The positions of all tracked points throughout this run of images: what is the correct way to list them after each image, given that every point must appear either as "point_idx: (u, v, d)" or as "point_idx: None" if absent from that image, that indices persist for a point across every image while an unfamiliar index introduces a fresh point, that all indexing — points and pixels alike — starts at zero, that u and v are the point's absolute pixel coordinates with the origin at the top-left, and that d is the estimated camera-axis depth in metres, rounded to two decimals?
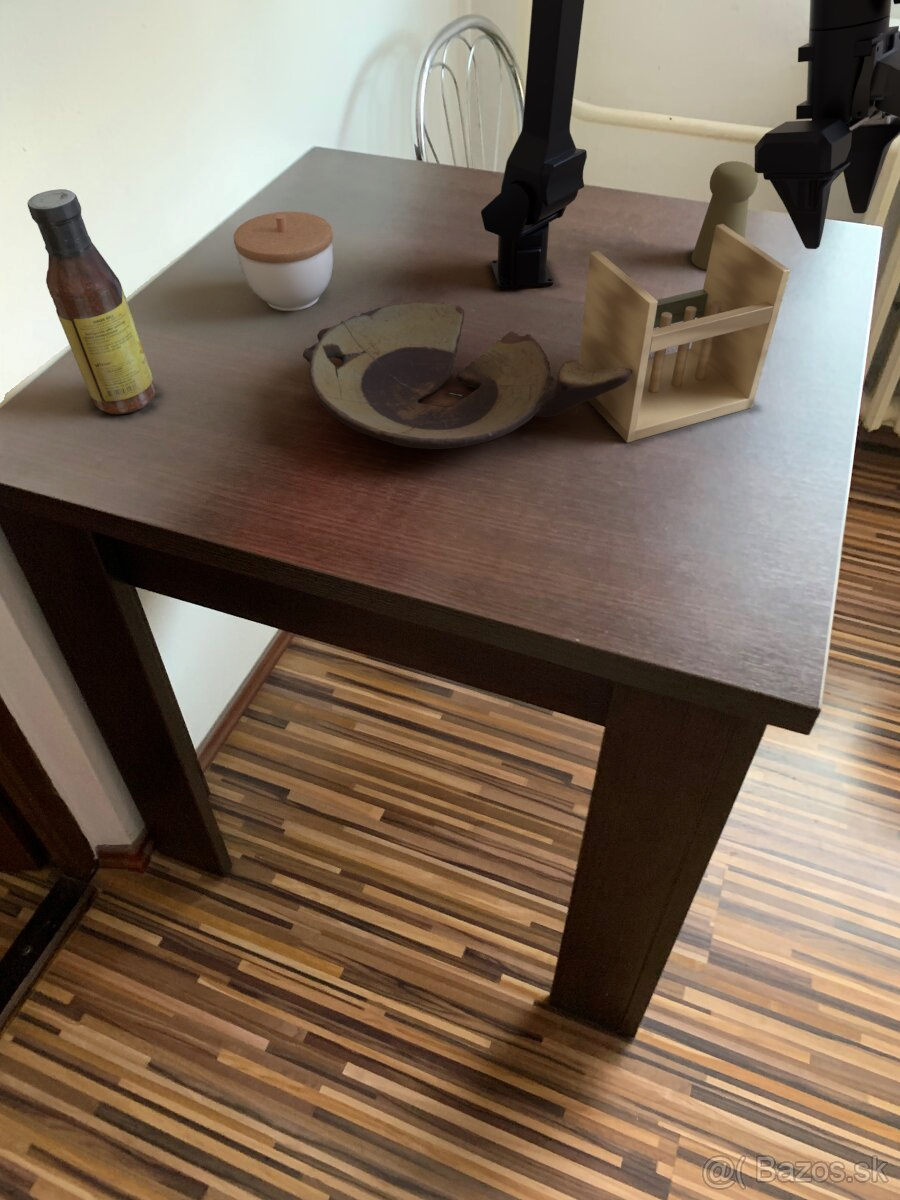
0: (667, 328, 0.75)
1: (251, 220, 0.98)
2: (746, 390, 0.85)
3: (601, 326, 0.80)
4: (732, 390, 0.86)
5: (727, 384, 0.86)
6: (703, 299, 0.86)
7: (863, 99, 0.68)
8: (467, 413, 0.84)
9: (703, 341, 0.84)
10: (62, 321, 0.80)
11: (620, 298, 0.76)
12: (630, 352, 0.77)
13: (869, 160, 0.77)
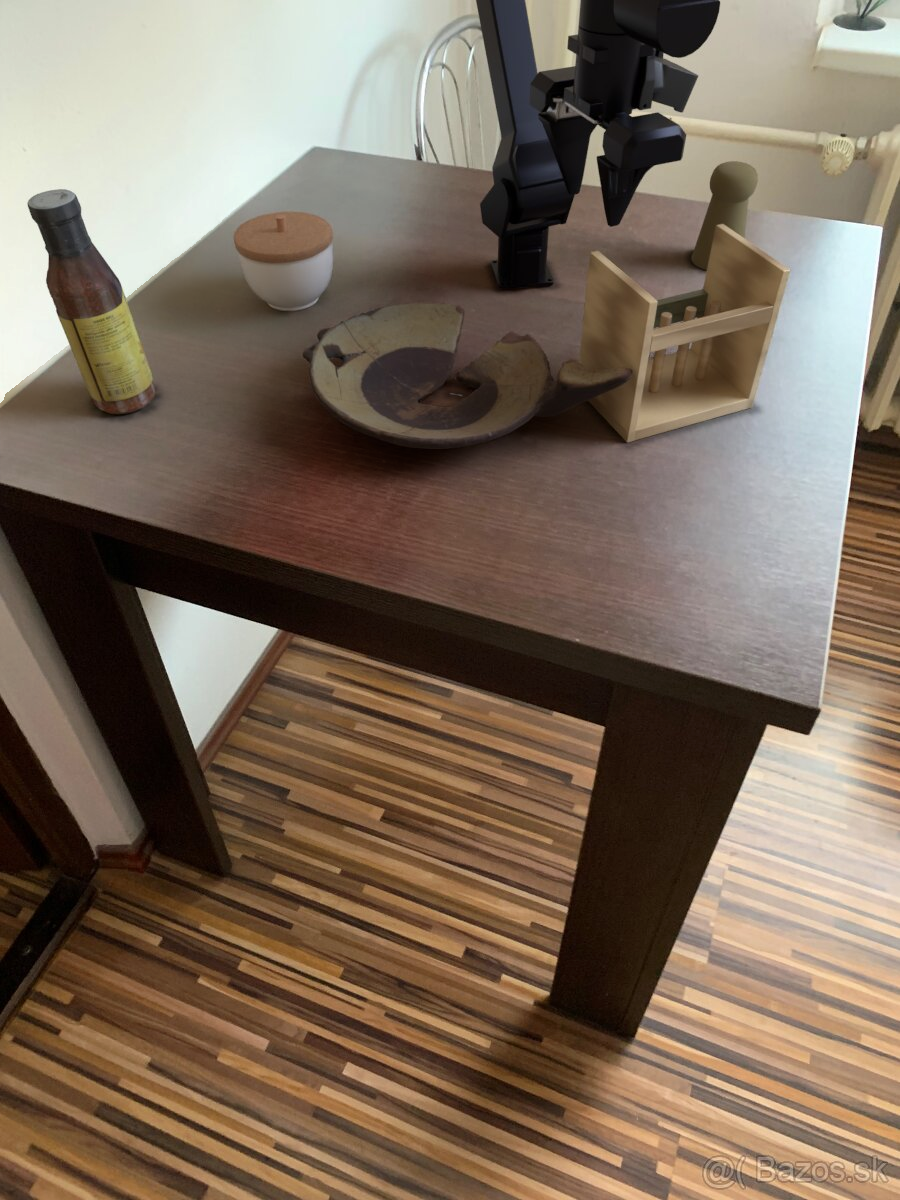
0: (667, 328, 0.75)
1: (251, 220, 0.98)
2: (746, 390, 0.85)
3: (601, 326, 0.80)
4: (732, 390, 0.86)
5: (727, 384, 0.86)
6: (703, 299, 0.86)
7: (649, 93, 0.78)
8: (467, 413, 0.84)
9: (703, 341, 0.84)
10: (62, 321, 0.80)
11: (620, 298, 0.76)
12: (630, 352, 0.77)
13: (580, 147, 0.86)
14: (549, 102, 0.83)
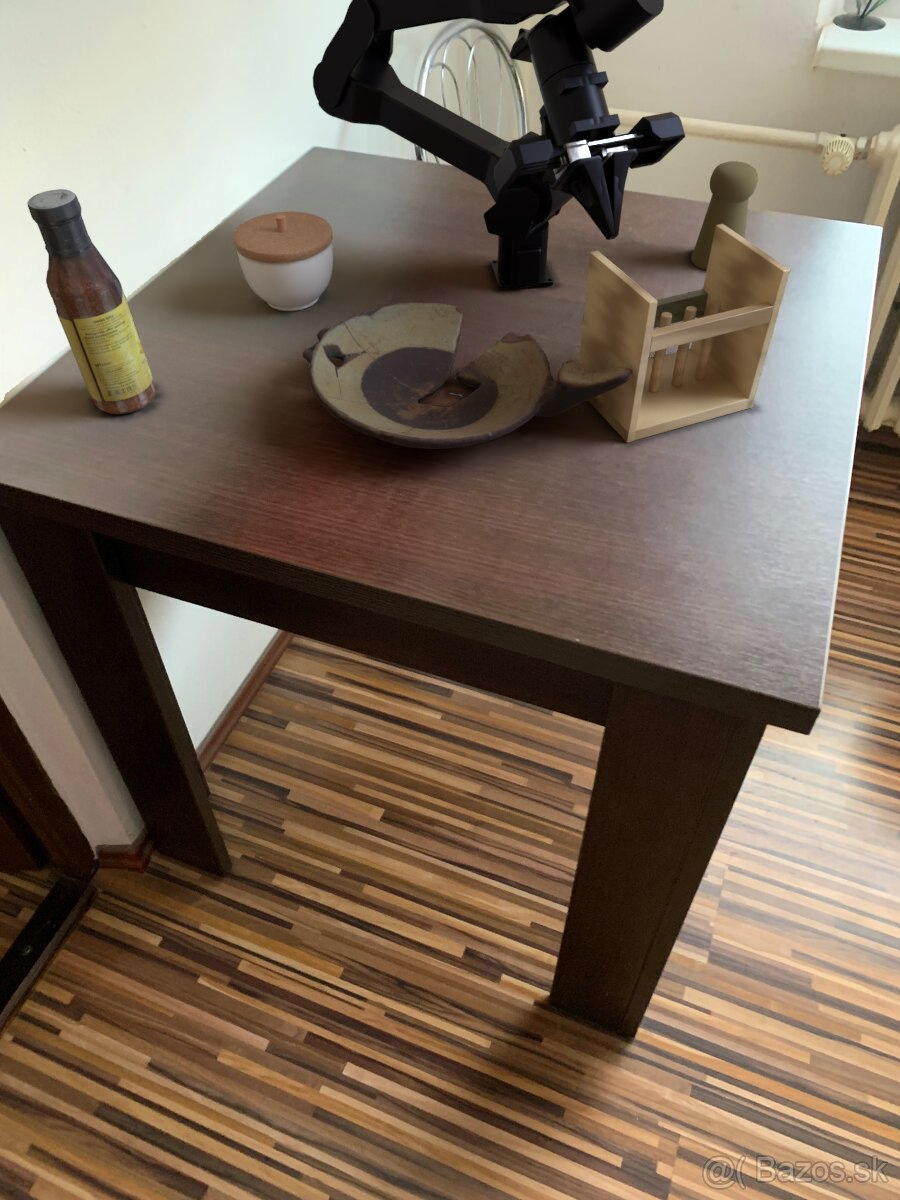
0: (667, 328, 0.75)
1: (251, 220, 0.98)
2: (746, 390, 0.85)
3: (601, 326, 0.80)
4: (732, 390, 0.86)
5: (727, 384, 0.86)
6: (703, 299, 0.86)
7: None
8: (467, 413, 0.84)
9: (703, 341, 0.84)
10: (62, 321, 0.80)
11: (620, 298, 0.76)
12: (630, 352, 0.77)
13: None
14: None
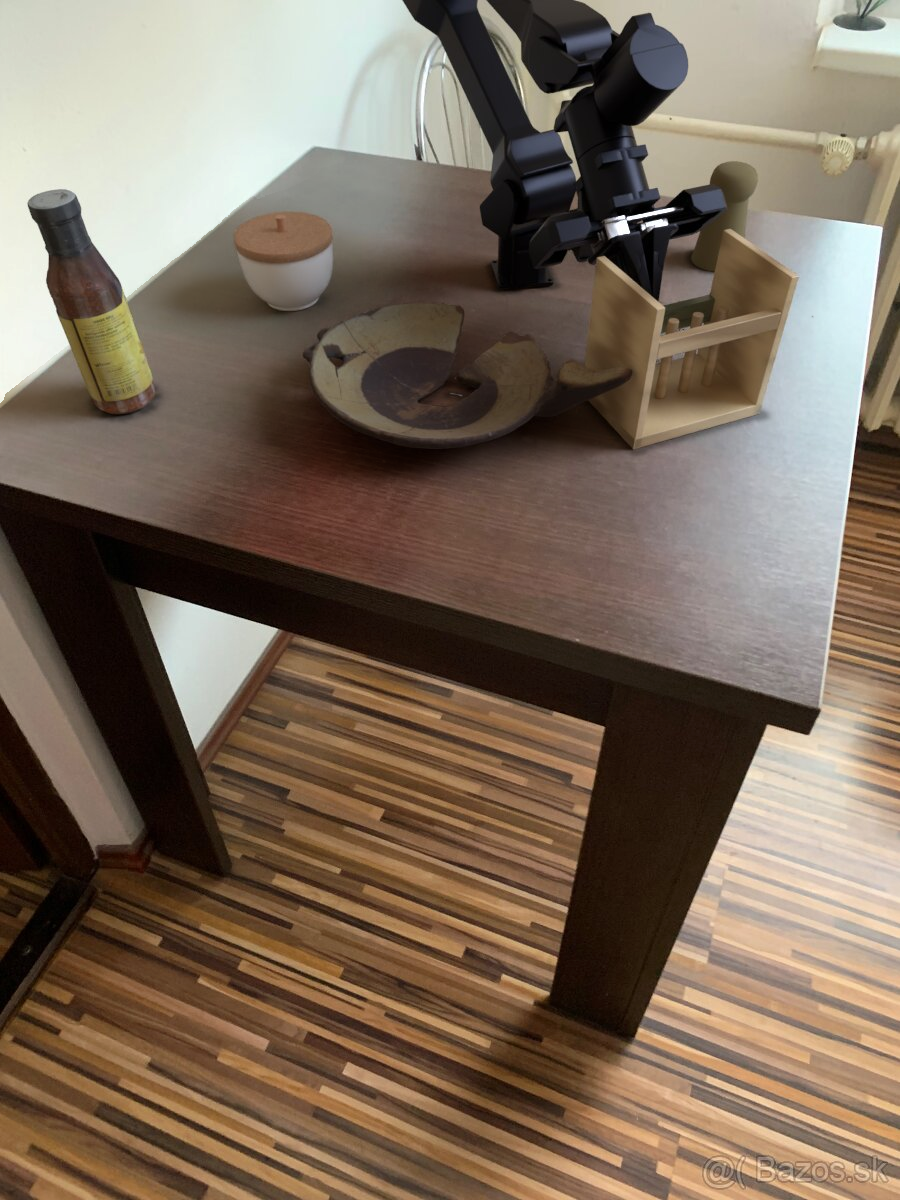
0: (675, 335, 0.75)
1: (251, 220, 0.98)
2: (753, 396, 0.84)
3: (607, 332, 0.80)
4: (739, 396, 0.85)
5: (734, 390, 0.86)
6: (710, 304, 0.85)
7: None
8: (467, 413, 0.84)
9: (710, 347, 0.83)
10: (62, 321, 0.80)
11: (627, 304, 0.75)
12: (637, 358, 0.76)
13: None
14: None
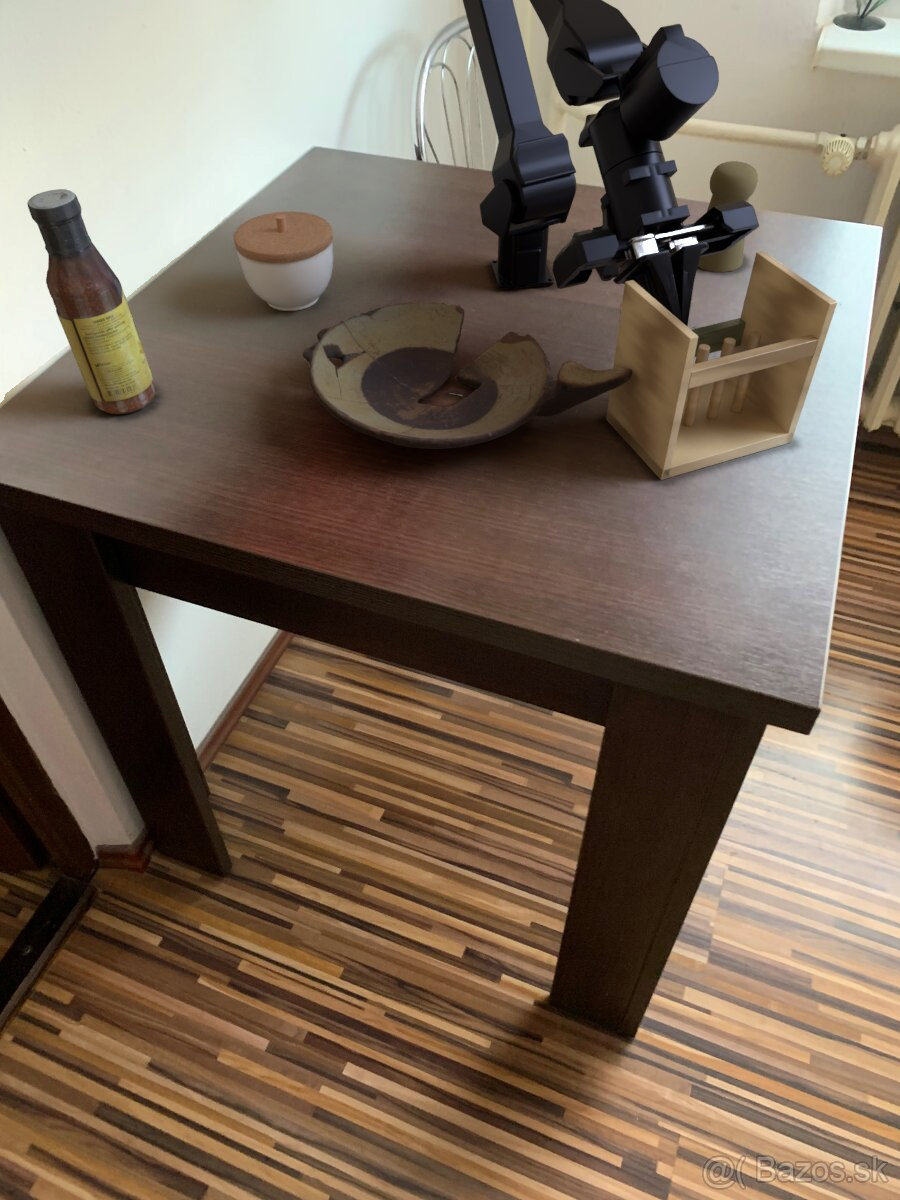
0: (707, 363, 0.71)
1: (251, 220, 0.98)
2: (785, 424, 0.81)
3: (635, 359, 0.77)
4: (770, 424, 0.82)
5: (765, 417, 0.82)
6: (740, 328, 0.82)
7: None
8: (467, 413, 0.84)
9: None
10: (62, 321, 0.80)
11: (657, 331, 0.72)
12: (667, 387, 0.73)
13: None
14: None
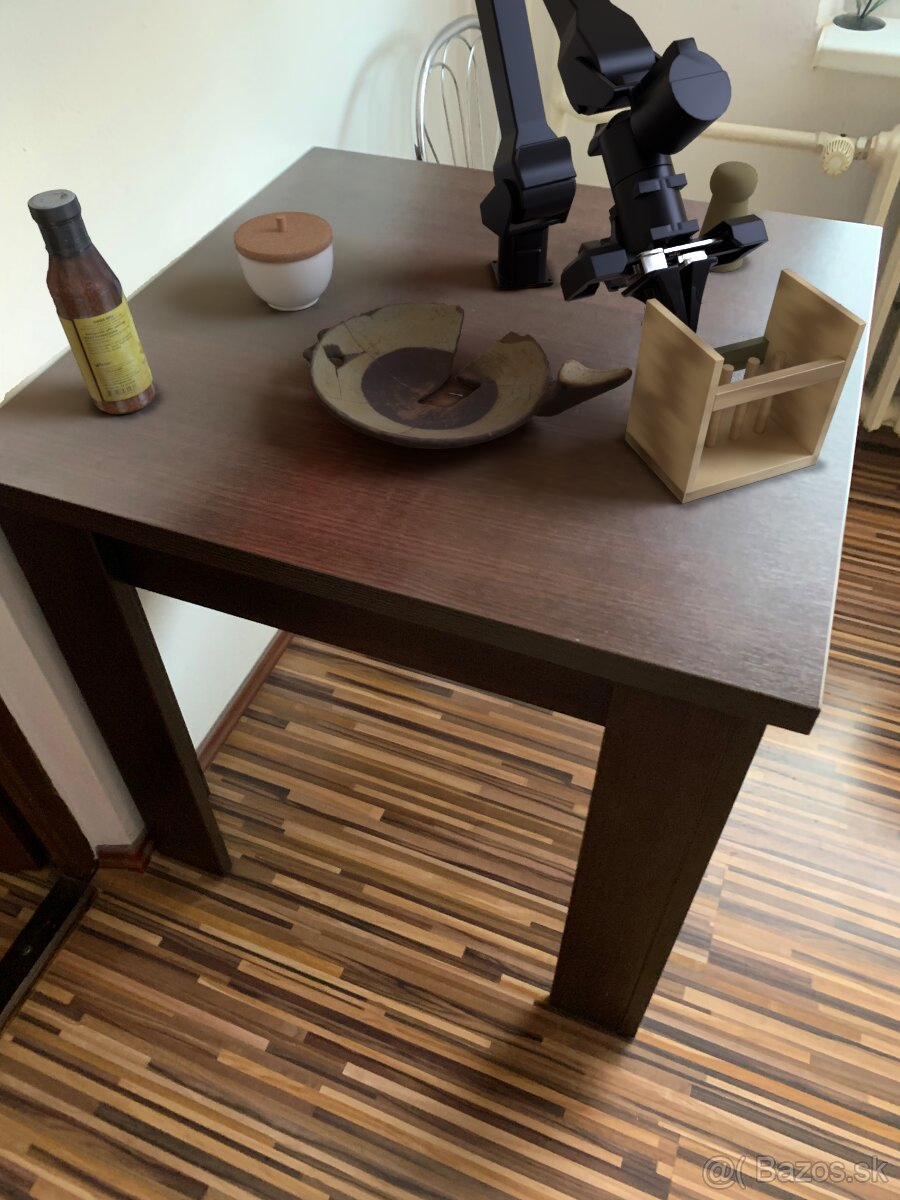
0: (732, 386, 0.69)
1: (251, 220, 0.98)
2: (810, 446, 0.78)
3: (656, 379, 0.74)
4: (794, 445, 0.80)
5: (788, 438, 0.80)
6: (764, 347, 0.80)
7: None
8: (467, 413, 0.84)
9: None
10: (62, 321, 0.80)
11: (680, 352, 0.70)
12: (690, 410, 0.71)
13: None
14: None
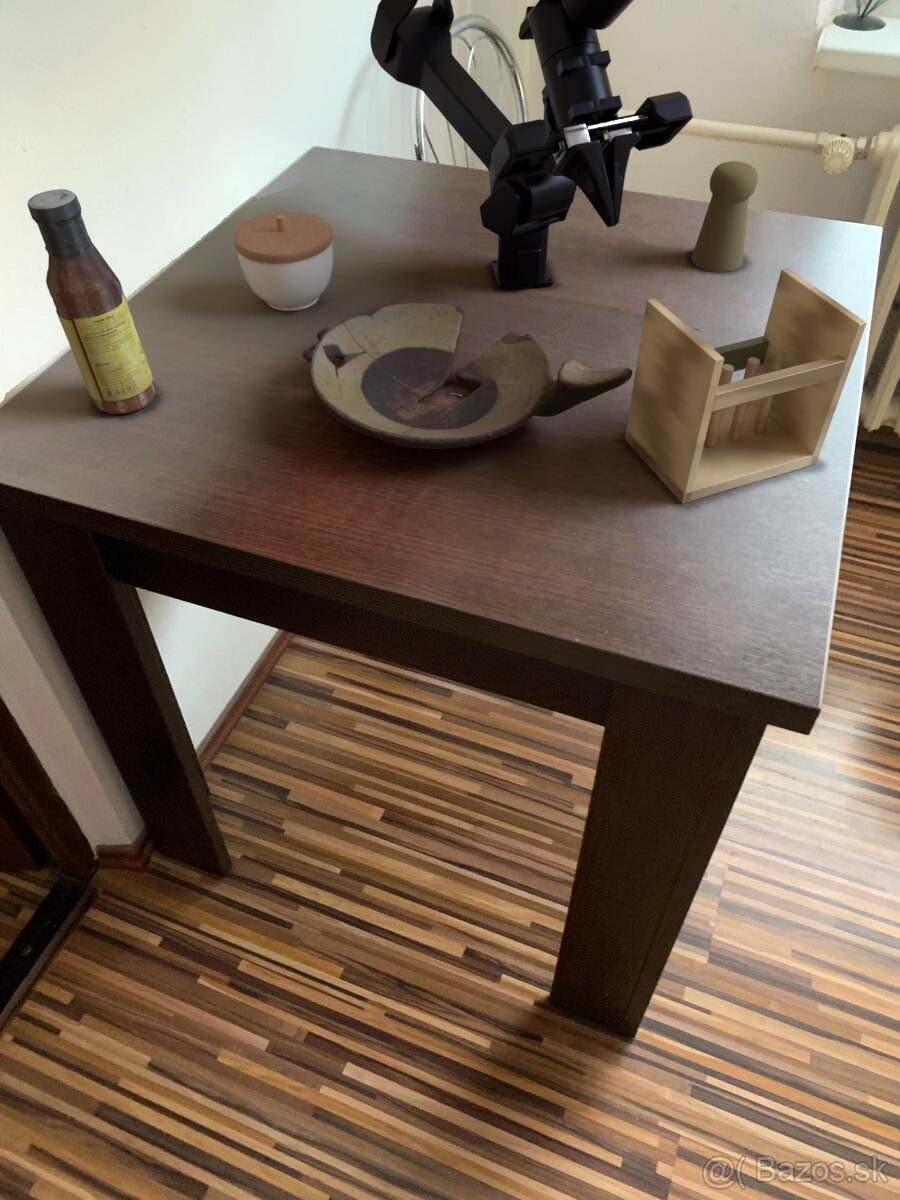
0: (732, 386, 0.69)
1: (251, 220, 0.98)
2: (810, 446, 0.78)
3: (656, 379, 0.74)
4: (794, 445, 0.80)
5: (788, 438, 0.80)
6: (764, 347, 0.80)
7: None
8: (467, 413, 0.84)
9: None
10: (62, 321, 0.80)
11: (680, 352, 0.70)
12: (690, 410, 0.71)
13: None
14: None
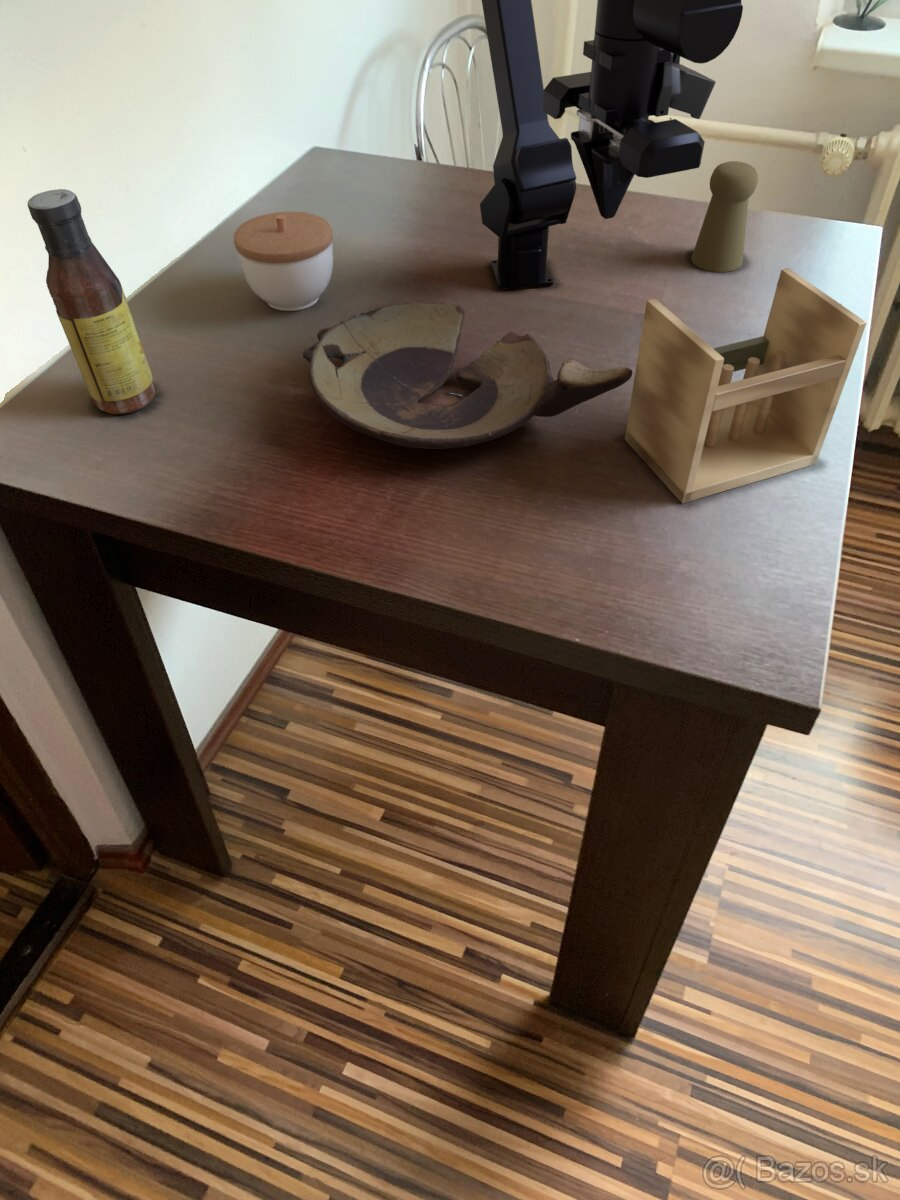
0: (732, 386, 0.69)
1: (251, 220, 0.98)
2: (810, 446, 0.78)
3: (656, 379, 0.74)
4: (794, 445, 0.80)
5: (788, 438, 0.80)
6: (764, 347, 0.80)
7: (666, 100, 0.76)
8: (467, 413, 0.84)
9: None
10: (62, 321, 0.80)
11: (680, 352, 0.70)
12: (690, 410, 0.71)
13: None
14: (563, 108, 0.82)
